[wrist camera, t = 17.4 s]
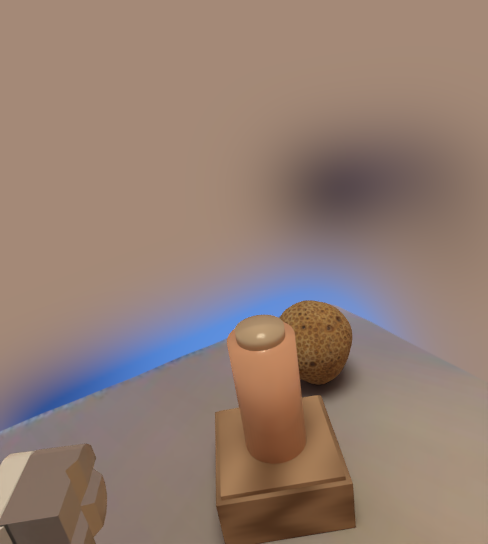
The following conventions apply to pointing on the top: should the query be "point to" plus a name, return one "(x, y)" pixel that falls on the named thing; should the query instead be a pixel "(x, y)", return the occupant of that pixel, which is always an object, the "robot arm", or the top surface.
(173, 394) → the top surface
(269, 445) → the terracotta jar
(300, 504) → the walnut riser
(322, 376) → the natural sponge
